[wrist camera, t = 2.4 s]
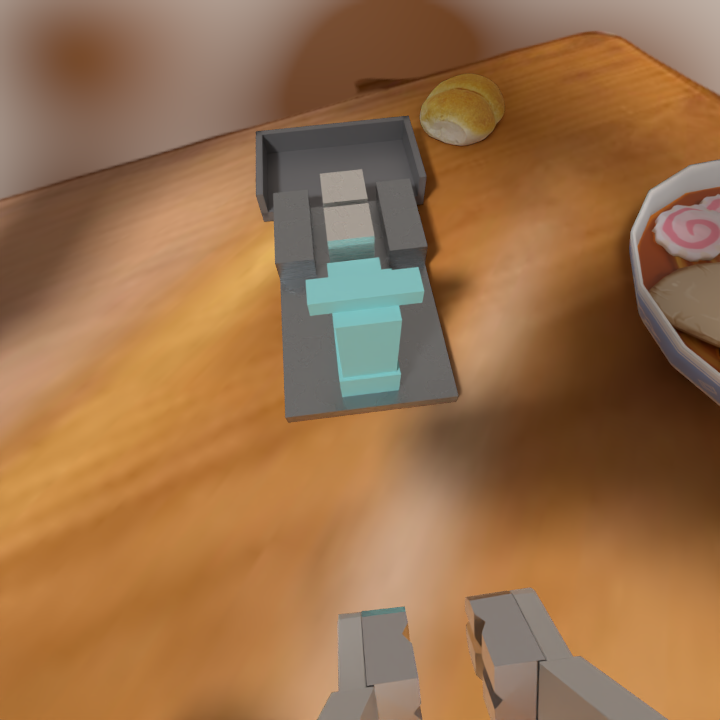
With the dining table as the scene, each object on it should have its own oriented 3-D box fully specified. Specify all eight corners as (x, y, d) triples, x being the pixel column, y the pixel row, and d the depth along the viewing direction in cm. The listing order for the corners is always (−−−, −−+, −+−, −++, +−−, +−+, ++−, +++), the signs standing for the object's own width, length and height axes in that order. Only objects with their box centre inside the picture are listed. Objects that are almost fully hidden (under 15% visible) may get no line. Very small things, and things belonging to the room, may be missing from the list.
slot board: (288, 422, 29) (279, 406, 26) (280, 219, 38) (273, 193, 36) (455, 401, 29) (464, 384, 27) (407, 205, 39) (409, 178, 36)
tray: (264, 221, 38) (256, 195, 36) (263, 159, 42) (255, 131, 40) (422, 204, 39) (426, 176, 36) (406, 144, 43) (408, 115, 40)
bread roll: (509, 109, 46) (520, 70, 42) (479, 156, 42) (489, 118, 38) (440, 91, 48) (446, 51, 44) (407, 134, 44) (409, 95, 41)
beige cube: (332, 276, 34) (327, 241, 30) (328, 244, 35) (323, 207, 32) (374, 271, 34) (374, 235, 30) (368, 240, 35) (368, 202, 32)
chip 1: (328, 240, 36) (323, 203, 32) (324, 212, 37) (319, 173, 34) (368, 236, 36) (367, 198, 32) (363, 207, 37) (362, 169, 34)
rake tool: (328, 398, 29) (308, 324, 20) (317, 285, 33) (298, 187, 25) (413, 388, 29) (429, 310, 20) (390, 277, 33) (396, 176, 25)
